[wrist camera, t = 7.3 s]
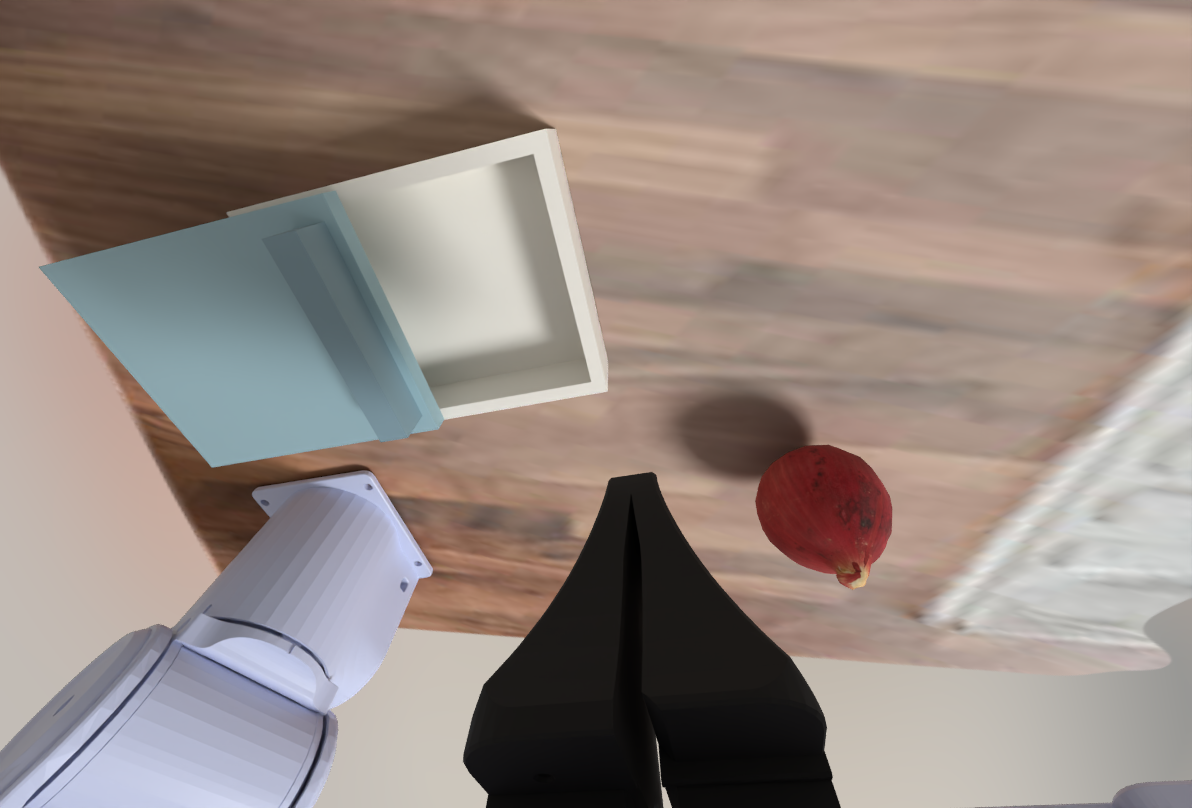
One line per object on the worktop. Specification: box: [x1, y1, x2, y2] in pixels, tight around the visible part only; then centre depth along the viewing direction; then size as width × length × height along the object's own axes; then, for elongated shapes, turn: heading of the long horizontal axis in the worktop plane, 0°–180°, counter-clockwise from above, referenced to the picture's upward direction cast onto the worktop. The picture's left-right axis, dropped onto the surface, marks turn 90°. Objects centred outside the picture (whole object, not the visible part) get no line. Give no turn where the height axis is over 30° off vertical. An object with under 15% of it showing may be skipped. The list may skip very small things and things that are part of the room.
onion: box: [755, 445, 892, 590], centre depth 21 cm, size 6×6×8 cm
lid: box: [39, 190, 444, 468], centre depth 17 cm, size 10×12×2 cm
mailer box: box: [226, 129, 608, 420], centre depth 19 cm, size 10×12×3 cm
